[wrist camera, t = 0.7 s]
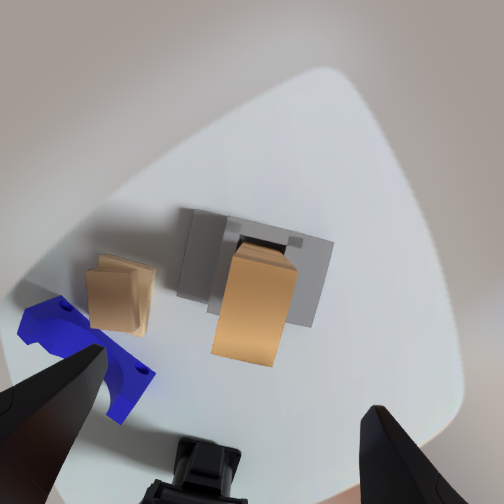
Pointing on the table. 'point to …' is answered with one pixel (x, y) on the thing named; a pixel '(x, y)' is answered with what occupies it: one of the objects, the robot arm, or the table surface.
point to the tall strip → (255, 304)
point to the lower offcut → (144, 285)
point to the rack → (225, 246)
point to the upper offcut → (113, 299)
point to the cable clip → (79, 337)
